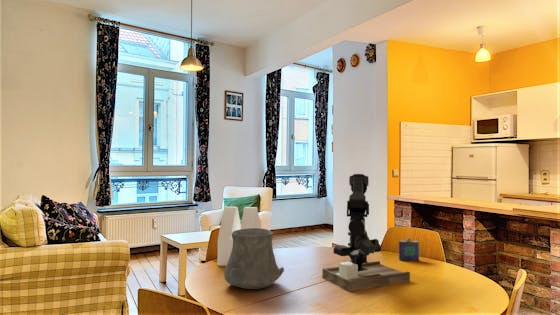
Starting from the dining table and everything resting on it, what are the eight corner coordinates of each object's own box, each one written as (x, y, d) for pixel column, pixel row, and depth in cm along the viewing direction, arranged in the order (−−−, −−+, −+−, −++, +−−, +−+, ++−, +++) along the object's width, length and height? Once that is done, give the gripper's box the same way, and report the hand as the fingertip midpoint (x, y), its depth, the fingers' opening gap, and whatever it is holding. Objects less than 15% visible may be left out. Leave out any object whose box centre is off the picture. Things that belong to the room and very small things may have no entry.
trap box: (322, 277, 145) (322, 268, 145) (378, 269, 157) (378, 261, 157) (349, 291, 129) (349, 281, 129) (409, 281, 141) (409, 272, 141)
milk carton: (231, 255, 182) (231, 204, 182) (261, 256, 179) (261, 205, 180) (217, 265, 163) (217, 209, 164) (251, 267, 160) (251, 209, 161)
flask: (418, 259, 173) (418, 237, 174) (420, 261, 170) (420, 238, 171) (398, 259, 174) (398, 236, 174) (400, 261, 171) (399, 238, 171)
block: (339, 274, 141) (339, 263, 141) (349, 273, 143) (349, 261, 143) (346, 278, 136) (346, 266, 136) (357, 276, 138) (357, 264, 138)
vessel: (277, 298, 122) (277, 238, 123) (214, 293, 127) (215, 235, 127) (289, 278, 144) (289, 227, 144) (235, 275, 148) (235, 225, 149)
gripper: (350, 236, 130) (350, 280, 130) (390, 232, 138) (391, 273, 138) (332, 231, 141) (332, 272, 140) (371, 227, 149) (371, 266, 148)
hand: (357, 271), depth 141 cm, fingers closed
